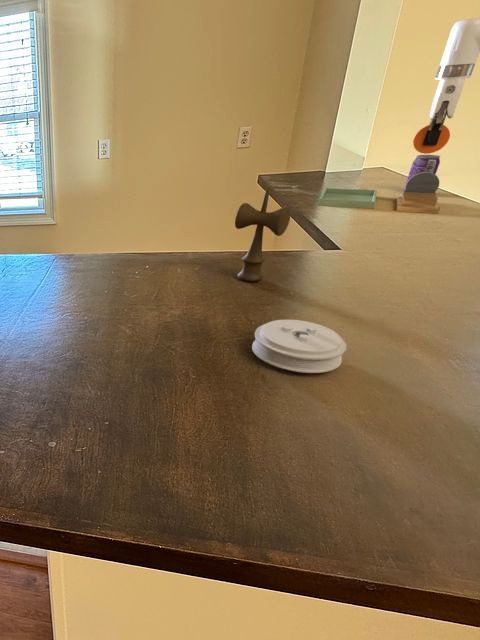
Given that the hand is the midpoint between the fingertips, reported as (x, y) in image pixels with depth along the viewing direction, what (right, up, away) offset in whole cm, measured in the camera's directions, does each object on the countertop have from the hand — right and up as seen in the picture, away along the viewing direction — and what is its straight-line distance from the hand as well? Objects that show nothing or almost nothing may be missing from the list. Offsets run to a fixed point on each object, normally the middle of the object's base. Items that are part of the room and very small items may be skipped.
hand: (429, 144), depth 141 cm
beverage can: (+18, -6, +25) cm, 31 cm away
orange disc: (0, +1, -1) cm, 2 cm away
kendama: (-71, -46, -33) cm, 90 cm away
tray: (-8, -9, +22) cm, 25 cm away
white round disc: (-79, -64, -63) cm, 120 cm away
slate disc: (+7, -9, +10) cm, 15 cm away
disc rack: (+5, -15, +10) cm, 19 cm away
